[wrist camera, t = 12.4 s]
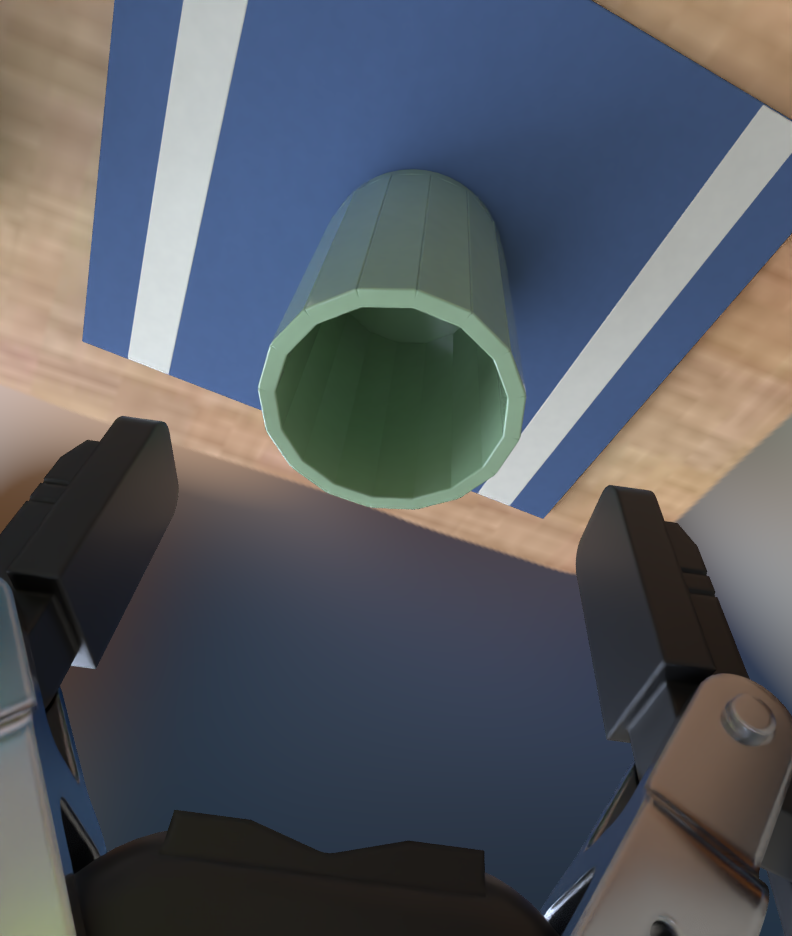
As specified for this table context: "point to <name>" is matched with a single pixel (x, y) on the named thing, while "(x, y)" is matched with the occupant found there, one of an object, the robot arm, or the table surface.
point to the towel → (442, 151)
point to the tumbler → (399, 349)
